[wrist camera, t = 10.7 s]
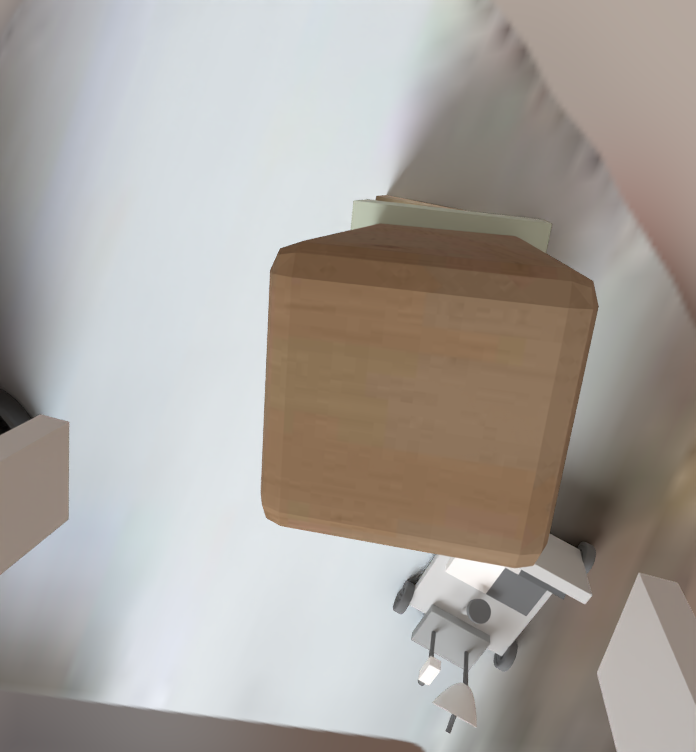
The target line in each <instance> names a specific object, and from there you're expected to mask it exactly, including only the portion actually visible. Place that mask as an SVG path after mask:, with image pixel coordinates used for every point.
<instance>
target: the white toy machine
mask: <svg viewBox="0 0 696 752" xmlns="http://www.w3.org/2000/svg"><path fill="white" fill-rule="evenodd" d="M595 557H596V550H595V548H594V547H593V546H592V545H590V544H589V543H587V542H581V543H580V544H579V545H578V547H577V548H576V547H574V546H572V545H570V544H568V543H566V542H564V541H563V540H561V539H559V538H557V537H555V536H553V535H552V534H549V538H548V543H547V545H546V547H545V548H544V550H543V551H542V553H541V555H540V556H539V558H538V559H537V561H536V562H535V564H534V566H529V567H522V568H510V567H504V566H499V565H493V564H488V563H482V562H477V561H471V560H466V559H460V558H455V557H449V556H444V555H438V554H436V555H435V557H434V558H433V560H432V561H431V563H430V564H429V566H428V567H427V568H426V570H425V571H424V573H423V574H422V576H421V577H420V579H419V580H418V582H417V583H416V585H414V584H413V583H411V582H409V581H406V582H405V583H404V586H403V588H402V589H401V590H400V591H399V592H398V594H397V596H396V599H395V601H394V605H393V610H394V611H395V612H397V613H399V614H403V613H404V612H405V611H406V609H407V607H408V606H409V605H410V606H412V607H414V608H415V609H417V610H419V611H421V612H423V613H424V614H425V615H424V617H423V618H422V619H421V621H420V622H419V624H418V625H417V627H416V628H415V629H414V631H413V632H412V638H411V640H412V641H414V642H416V643H417V644H419V645H421V646H423V647H425V648H426V649H428V650H430V651H429V659H428V660H427V661H426V663H425V664H424V665H423V667H422V668H421V669H420V672H419V679H418V683H419V684H420V685H421V686H423V685H424V684H427V685H430V684H431V682H432V681H433V680H434V678H435V677H436V676H437V674H438V673H439V672H440V668H441V661H439V660H438V659H436V658H434V653H435V654H437V655H439V656H441V657H442V658H444V659H446V660H448V661H450V662H451V663H453V664H455V665H457V666H458V667H460V668H462V669H464V673H463V683H457V684H454V685H452V686H450V687H449V688H447V689H446V690H445V691H444V692H442V693H441V694H440V695H439V696H438V697H437V698H436V699H435V700H434V701H433V702H432V703H433V704H435V705H437V706H439V707H440V708H442V709H444V710H446V711H447V712H449V713H451V714H452V715H451V718H450V720H449V723H448V726H447V729H446V732H448V733H450V732H451V730H452V727H453V724H454V721H455V719H456V717H458V718H460V719H462V720H464V721H465V722H467V723H469V724H471V725H473V726H475V727H476V728H477V719H476V707H475V701H474V697H473V693H472V691H471V689H470V687H469V686H468V672H469V670H470V669H471V668H472V666H473V665H474V664H475V663H476V661H477V660H478V659H479V658H480V656H481V655H482V654H483V652H484V651H485V650H486V649H489V650H491V651H493V652H495V655H494V665H495V667H496V668H498V669H499V670H501V671H507V670H508V669H509V668H510V667H511V666H512V664H513V662H514V660H515V658H516V654H517V648H518V646H517V642H516V641H515V639H516V638H517V637H518V635H519V634H520V633H521V632H522V630H523V629H524V628H525V627H526V625H527V624H528V623H529V622H530V620H531V619H532V618H533V617H534V615H535V614H536V613H537V612H538V610H539V609H540V608H541V607H542V605H543V604H544V603H545V602H546V601H547V599H548V598H549V597H550V596H551V594H552V593H553V594H554V595H556V596H558V597H560V598H562V599H564V597H565V595H566V594H567V595H569V596H571V597H572V598H574V599H576V600H578V601H580V602H582V603H583V604H586V602H587V601H588V600H589V599H590V598H591V596H592V592H591V589H590V585H589V581H588V578H587V573H588V572H589V571H590V569H591V568H592V566H593V564H594V561H595Z"/></svg>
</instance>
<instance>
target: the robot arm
mask: <svg viewBox="0 0 696 752" xmlns="http://www.w3.org/2000/svg"><path fill="white" fill-rule="evenodd" d="M68 519H69V422H68V421H64V420H60V419H56V418H52V417H49V416H45V415H41V414H40V415H38V416H36V417H34V418H32V419H31V418H30V416H29V415H28V413H27V412H26V411H25V410H24V408H23V407H22V406H21V405H20V404H19V403H18V402H17V401H16V400H15V399H14V398H13V397H11V396H10V395H9V394H8V393H6V392H5V391H3V390H2V389H0V575H1V574H2V573H3V572H4V571H6V570H7V569H8V568H9V567H11V566H12V565H13V564H14V563H16V562H17V561H18V560H19V559H20V558H22V557H23V556H24V555H25V554H27V553H28V552H29V551H30V550H32V549H33V548H34V547H35V546H36V545H38V544H39V543H40V542H41V541H43V540H44V539H45V538H46V537H47V536H49V535H50V534H51V533H52V532H54V531H55V530H56V529H57V528H59V527H60V526H61V525H62V524H63V523H65V522H66V521H67V520H68ZM597 675H598V679H599V683H600V687H601V691H602V695H603V699H604V703H605V707H606V710H607V714H608V718H609V722H610V726H611V730H612V734H613V738H614V742H615V746H616V750H617V752H696V618H695V616H694V614H693V612H692V610H691V608H690V606H689V604H688V602H687V600H686V598H685V596H684V594H683V592H682V590H681V588H680V586H679V584H678V583H677V582H673V581H669V580H665V579H662V578H658V577H654V576H650V575H646V574H643V573H639V574H638V576H637V578H636V581H635V583H634V586H633V588H632V590H631V593H630V595H629V598H628V600H627V602H626V605H625V607H624V610H623V612H622V614H621V617H620V619H619V622H618V624H617V626H616V629H615V631H614V633H613V636H612V638H611V641H610V643H609V645H608V648H607V650H606V653H605V655H604V657H603V660H602V662H601V665H600V667H599V669H598V672H597Z"/></svg>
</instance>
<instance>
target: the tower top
mask: <svg viewBox="0 0 696 752" xmlns="http://www.w3.org/2000/svg"><path fill="white" fill-rule="evenodd" d="M380 223H382V224H393V225H403V226H414V227H424V228H435V229H446V230H456V231H467V232H477V233H488V234H499V235H509V236H517V237H518V238H520V239H522V240H524V241H526V242H528V243H529V244H531V245H533V246H534V247H536V248H538V249H539V250H541V251H543V252H545V253H546V251H547V246H548V241H549V237H550V232H551V227H552V223H550V222H547V221H545V220H542V219H534V218H525V217H516V216H508V215H499V214H490V213H482V212H473V211H464V210H456V209H447V208H438V207H430V206H421V205H412V204H404V203H395V202H386V201H378V200H369V199H367V200H356V201H354V202H353V212H352V221H351V230H354V229H358V228H362V227H367V226H371V225H375V224H380Z"/></svg>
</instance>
